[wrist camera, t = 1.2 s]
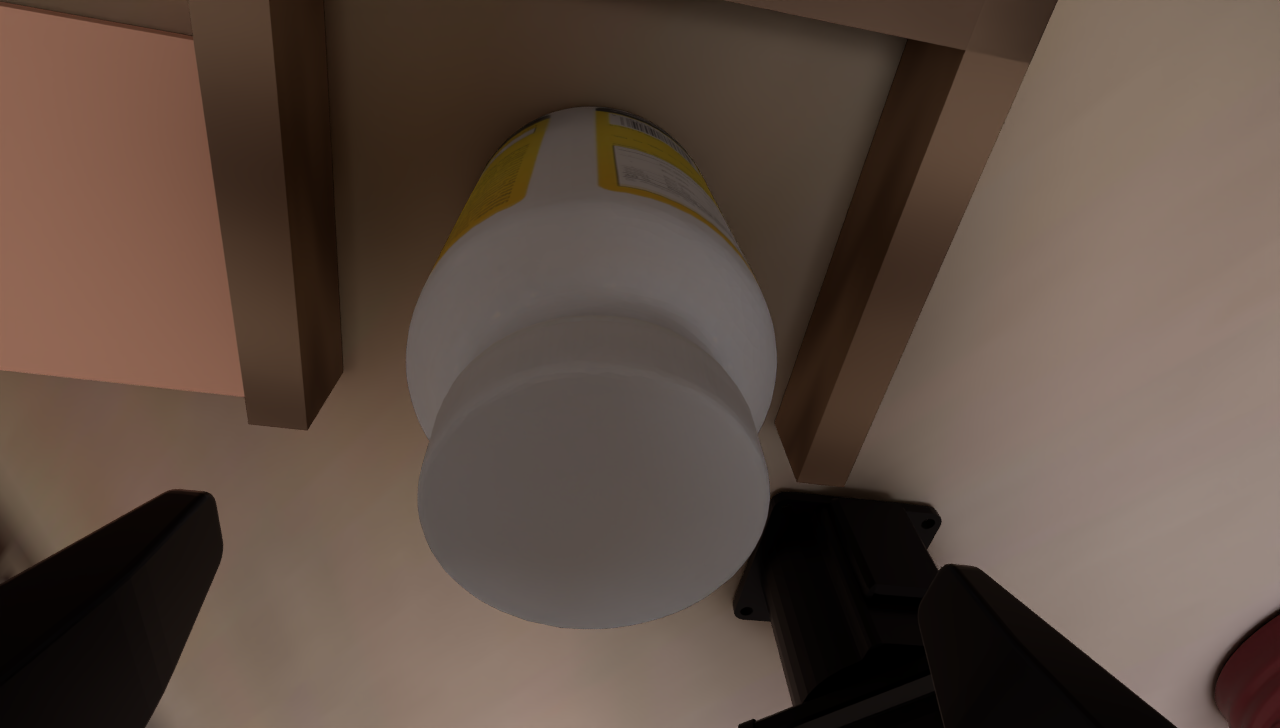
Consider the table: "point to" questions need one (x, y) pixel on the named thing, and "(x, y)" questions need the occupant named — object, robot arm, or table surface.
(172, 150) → the terracotta mat
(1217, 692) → the canister
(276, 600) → the table surface
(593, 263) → the pill bottle
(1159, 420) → the table surface
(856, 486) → the table surface
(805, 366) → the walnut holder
